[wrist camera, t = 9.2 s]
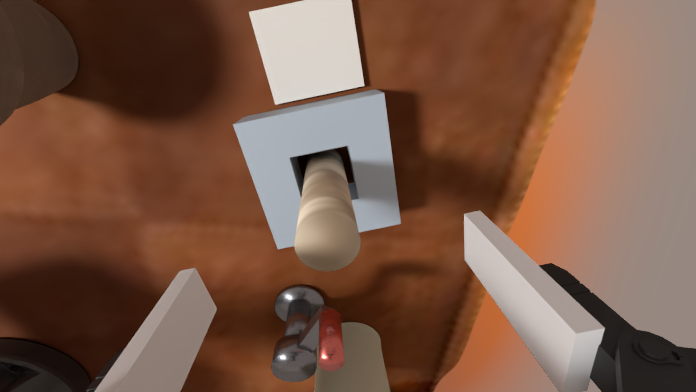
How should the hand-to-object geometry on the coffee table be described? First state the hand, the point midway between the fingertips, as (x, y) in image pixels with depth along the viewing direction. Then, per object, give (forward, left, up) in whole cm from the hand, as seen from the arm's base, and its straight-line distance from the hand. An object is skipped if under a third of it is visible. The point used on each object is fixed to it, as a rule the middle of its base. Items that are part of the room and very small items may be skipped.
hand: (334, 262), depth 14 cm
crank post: (-7, -17, -16) cm, 24 cm away
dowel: (0, 0, -16) cm, 16 cm away
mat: (+1, +10, -16) cm, 19 cm away
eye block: (0, 0, -16) cm, 16 cm away
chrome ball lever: (-5, -15, -9) cm, 18 cm away
